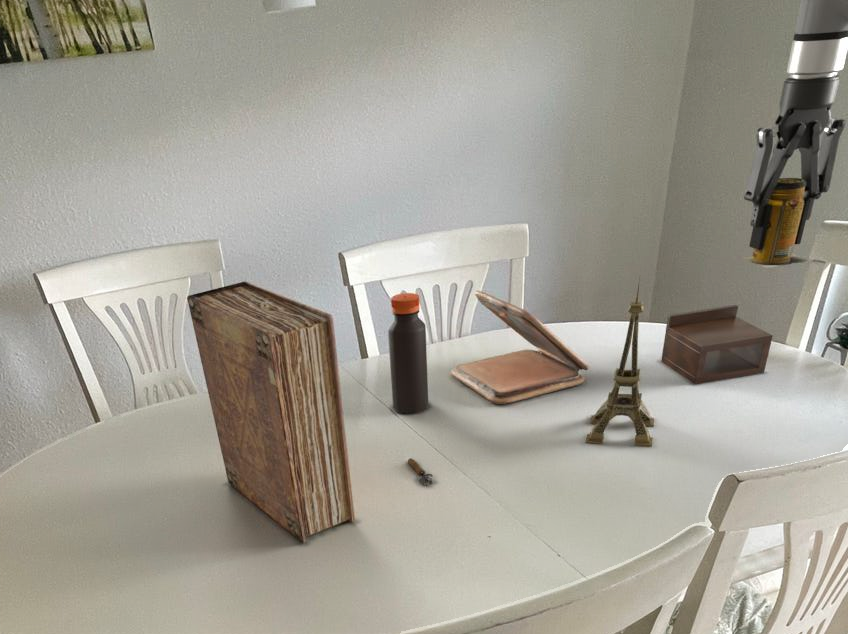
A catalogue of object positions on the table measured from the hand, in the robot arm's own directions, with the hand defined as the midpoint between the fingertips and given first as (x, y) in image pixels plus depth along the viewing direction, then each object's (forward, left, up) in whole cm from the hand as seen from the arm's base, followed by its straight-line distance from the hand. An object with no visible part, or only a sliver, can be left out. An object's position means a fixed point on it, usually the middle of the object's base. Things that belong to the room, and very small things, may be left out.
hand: (774, 244), depth 130 cm
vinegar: (+13, +61, -23) cm, 66 cm away
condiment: (0, -1, -3) cm, 3 cm away
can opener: (-14, +66, -24) cm, 71 cm away
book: (-16, +88, -23) cm, 92 cm away
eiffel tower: (-11, +30, -23) cm, 39 cm away
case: (+18, +38, -23) cm, 48 cm away
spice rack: (+9, +2, -23) cm, 25 cm away
